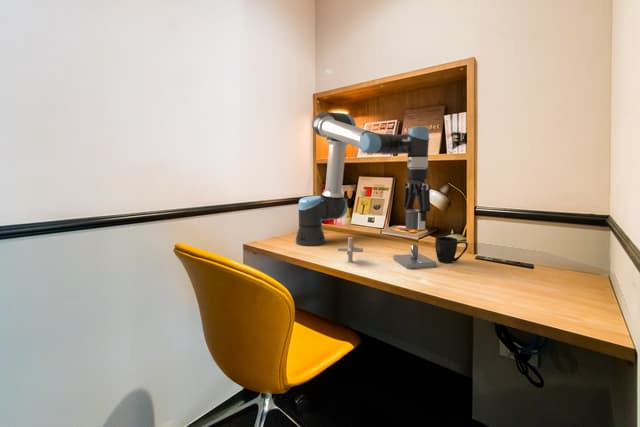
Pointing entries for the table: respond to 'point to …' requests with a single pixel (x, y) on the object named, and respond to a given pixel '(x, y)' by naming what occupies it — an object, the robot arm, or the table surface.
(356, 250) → the pipe connector
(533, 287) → the table surface
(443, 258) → the mug
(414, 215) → the knob
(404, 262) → the shaft block
